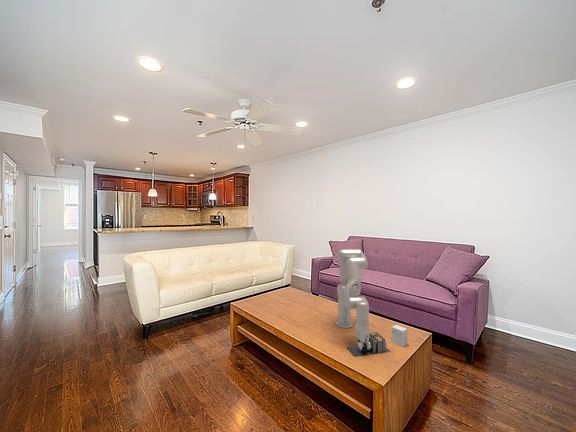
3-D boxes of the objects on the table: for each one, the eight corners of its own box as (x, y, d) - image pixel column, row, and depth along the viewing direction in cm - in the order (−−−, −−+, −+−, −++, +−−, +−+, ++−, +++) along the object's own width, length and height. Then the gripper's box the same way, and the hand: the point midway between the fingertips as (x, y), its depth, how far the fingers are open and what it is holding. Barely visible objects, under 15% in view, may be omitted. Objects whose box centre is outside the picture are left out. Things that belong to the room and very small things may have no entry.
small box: (407, 344, 168) (407, 328, 168) (402, 347, 165) (402, 331, 164) (396, 339, 174) (396, 324, 174) (391, 342, 171) (391, 326, 171)
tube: (360, 352, 157) (360, 343, 158) (356, 349, 162) (356, 340, 162) (387, 348, 161) (386, 340, 162) (382, 345, 166) (381, 337, 167)
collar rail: (345, 348, 164) (345, 334, 164) (380, 343, 169) (381, 330, 169) (354, 358, 153) (354, 343, 153) (391, 352, 159) (391, 338, 158)
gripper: (350, 316, 167) (350, 343, 168) (364, 327, 151) (363, 358, 151) (361, 315, 169) (360, 342, 169) (375, 326, 152) (375, 356, 153)
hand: (362, 349), depth 160 cm, fingers closed on tube, 4 cm apart
